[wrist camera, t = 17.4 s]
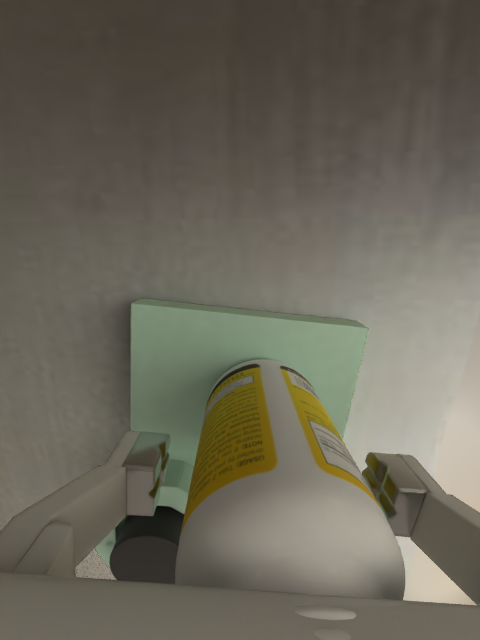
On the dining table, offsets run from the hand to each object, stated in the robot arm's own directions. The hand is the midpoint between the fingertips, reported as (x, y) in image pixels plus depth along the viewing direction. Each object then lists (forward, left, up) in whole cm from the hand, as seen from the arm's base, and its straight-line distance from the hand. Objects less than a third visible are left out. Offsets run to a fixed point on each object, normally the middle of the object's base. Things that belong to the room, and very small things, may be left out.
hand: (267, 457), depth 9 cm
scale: (-1, -3, -5) cm, 6 cm away
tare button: (-4, -7, -2) cm, 9 cm away
